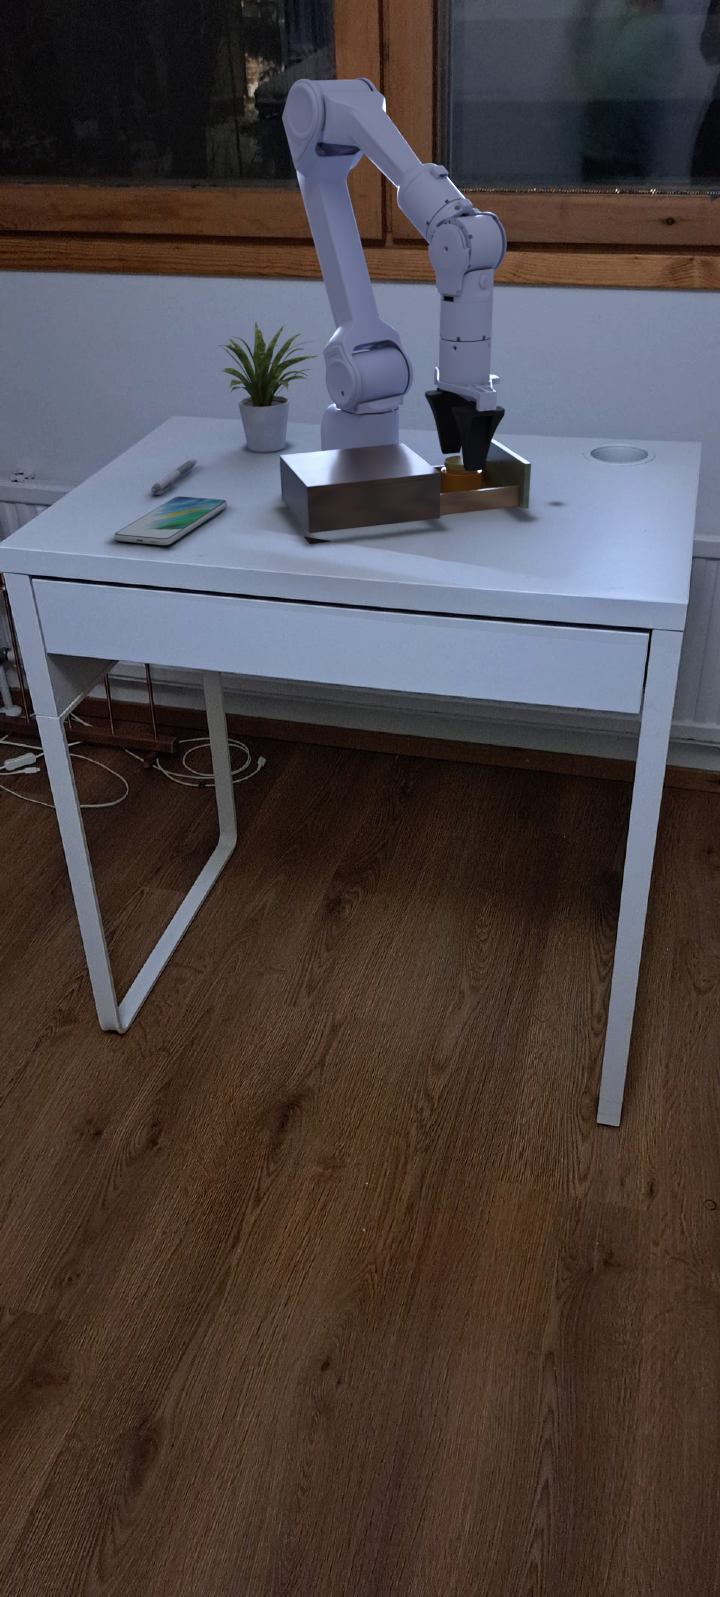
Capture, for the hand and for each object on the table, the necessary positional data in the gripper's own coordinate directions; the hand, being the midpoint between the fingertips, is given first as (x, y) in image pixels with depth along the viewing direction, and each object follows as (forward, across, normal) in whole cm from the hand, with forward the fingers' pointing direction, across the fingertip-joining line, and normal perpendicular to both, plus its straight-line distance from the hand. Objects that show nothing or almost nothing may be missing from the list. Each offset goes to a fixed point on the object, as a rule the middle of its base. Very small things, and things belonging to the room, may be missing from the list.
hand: (462, 461), depth 134 cm
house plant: (+6, +33, +16) cm, 38 cm away
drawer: (+5, 0, +1) cm, 5 cm away
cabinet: (+5, 0, +13) cm, 14 cm away
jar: (+4, 0, 0) cm, 4 cm away
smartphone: (+6, +5, +34) cm, 34 cm away
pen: (+6, +22, +31) cm, 38 cm away
